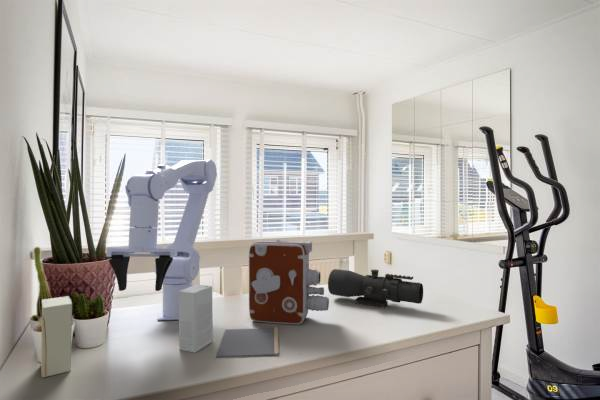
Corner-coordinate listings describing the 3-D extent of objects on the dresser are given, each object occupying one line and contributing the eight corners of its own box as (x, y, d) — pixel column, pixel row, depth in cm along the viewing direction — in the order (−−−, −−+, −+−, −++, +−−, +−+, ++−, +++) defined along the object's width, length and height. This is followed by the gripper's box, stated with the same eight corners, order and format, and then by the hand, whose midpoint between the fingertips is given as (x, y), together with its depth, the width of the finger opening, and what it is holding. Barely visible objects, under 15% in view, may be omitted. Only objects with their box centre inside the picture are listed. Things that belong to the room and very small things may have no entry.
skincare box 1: (40, 365, 65) (40, 299, 65) (69, 358, 68) (69, 295, 68) (41, 379, 60) (41, 307, 60) (72, 371, 63) (72, 302, 63)
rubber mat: (225, 330, 82) (225, 328, 82) (277, 329, 83) (277, 327, 83) (215, 357, 68) (215, 355, 68) (278, 355, 69) (278, 352, 69)
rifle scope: (416, 318, 91) (416, 278, 91) (325, 302, 105) (325, 268, 104) (425, 307, 100) (425, 271, 100) (340, 294, 113) (340, 262, 113)
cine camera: (325, 329, 83) (325, 243, 83) (246, 323, 87) (246, 241, 87) (329, 316, 92) (329, 239, 92) (258, 312, 96) (257, 237, 96)
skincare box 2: (196, 339, 77) (196, 284, 77) (213, 341, 76) (213, 285, 76) (177, 350, 72) (177, 290, 72) (195, 353, 70) (194, 292, 70)
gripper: (101, 227, 75) (97, 293, 73) (172, 228, 76) (169, 293, 75) (115, 227, 82) (112, 287, 80) (180, 228, 83) (178, 287, 82)
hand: (140, 290), depth 78 cm, fingers open, 7 cm apart
